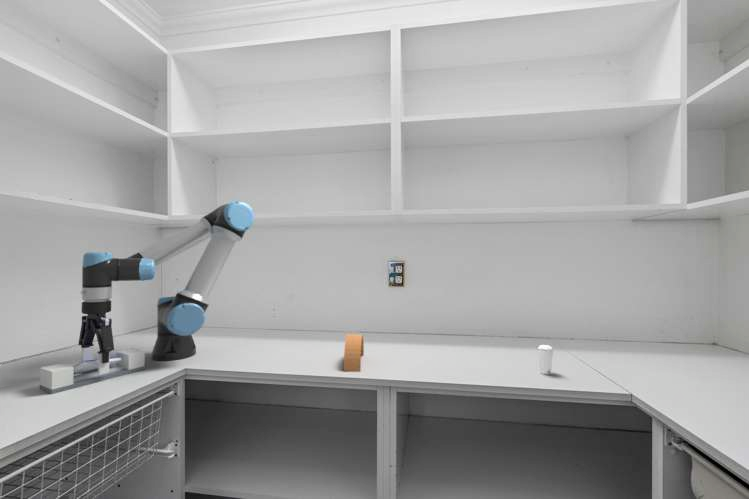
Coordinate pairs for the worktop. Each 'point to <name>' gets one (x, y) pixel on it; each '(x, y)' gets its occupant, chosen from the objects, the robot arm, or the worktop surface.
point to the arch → (353, 352)
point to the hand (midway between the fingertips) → (95, 370)
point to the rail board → (63, 379)
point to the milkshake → (545, 358)
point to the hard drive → (92, 365)
